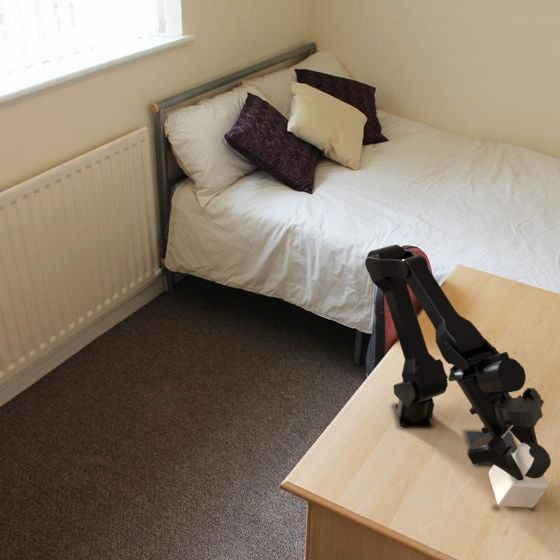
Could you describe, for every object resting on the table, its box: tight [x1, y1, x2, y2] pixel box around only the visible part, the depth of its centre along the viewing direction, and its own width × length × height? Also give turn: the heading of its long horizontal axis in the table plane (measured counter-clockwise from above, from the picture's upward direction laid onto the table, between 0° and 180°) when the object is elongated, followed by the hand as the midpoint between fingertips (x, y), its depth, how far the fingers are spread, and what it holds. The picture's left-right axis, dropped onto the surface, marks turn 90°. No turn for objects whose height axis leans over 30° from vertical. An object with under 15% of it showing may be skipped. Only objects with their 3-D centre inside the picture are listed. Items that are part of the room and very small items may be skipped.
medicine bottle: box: [488, 442, 552, 509], centre depth 130 cm, size 7×7×12 cm
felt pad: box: [466, 431, 517, 466], centre depth 144 cm, size 9×9×1 cm
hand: (529, 468), depth 129 cm, fingers closed on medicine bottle, 7 cm apart
